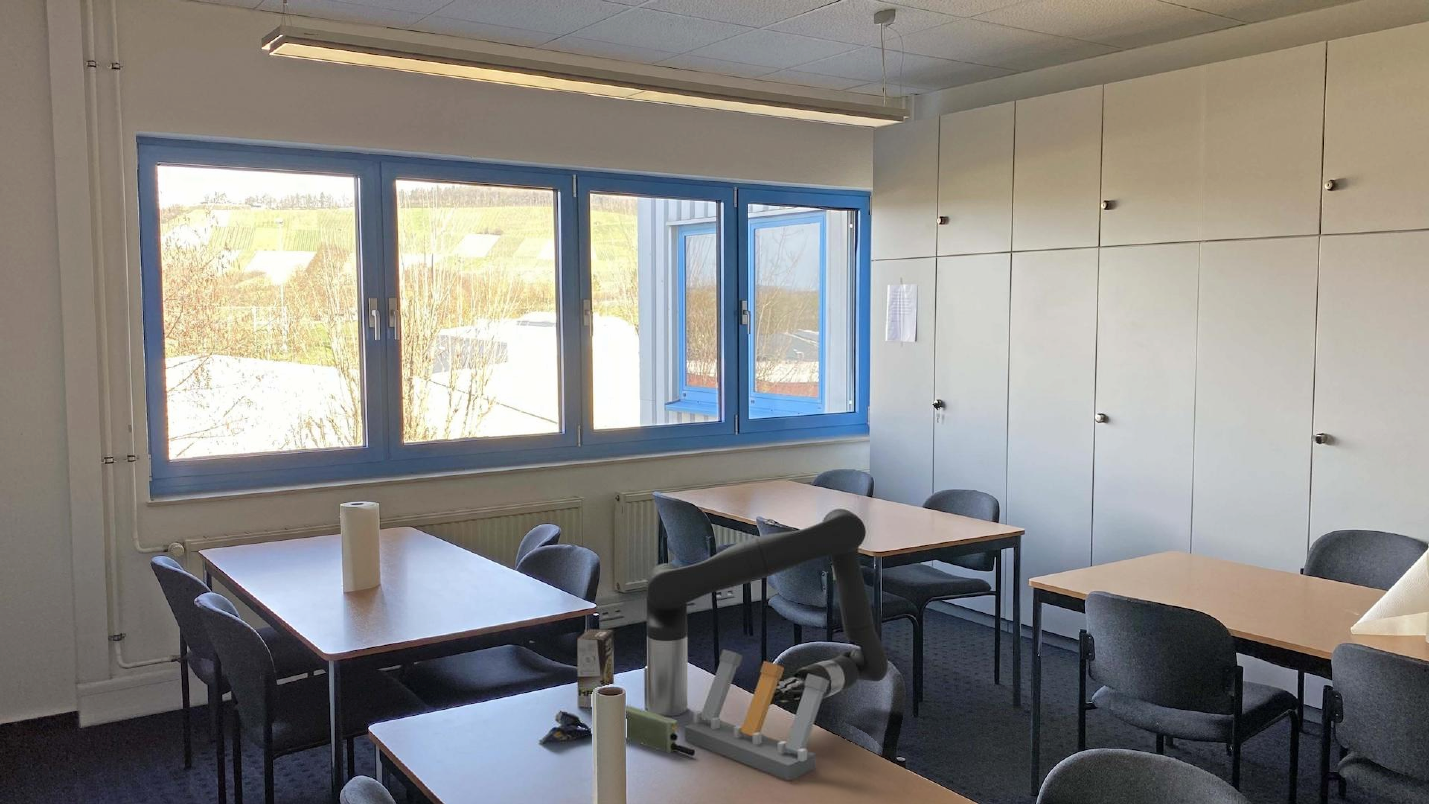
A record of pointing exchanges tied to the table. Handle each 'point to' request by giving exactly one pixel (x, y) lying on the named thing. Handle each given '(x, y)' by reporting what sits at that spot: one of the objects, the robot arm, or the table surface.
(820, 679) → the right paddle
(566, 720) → the snack package
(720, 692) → the left paddle
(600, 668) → the coffee box
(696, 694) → the table surface
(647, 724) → the handheld radio
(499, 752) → the table surface
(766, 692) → the orange paddle
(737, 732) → the pegged base beam
